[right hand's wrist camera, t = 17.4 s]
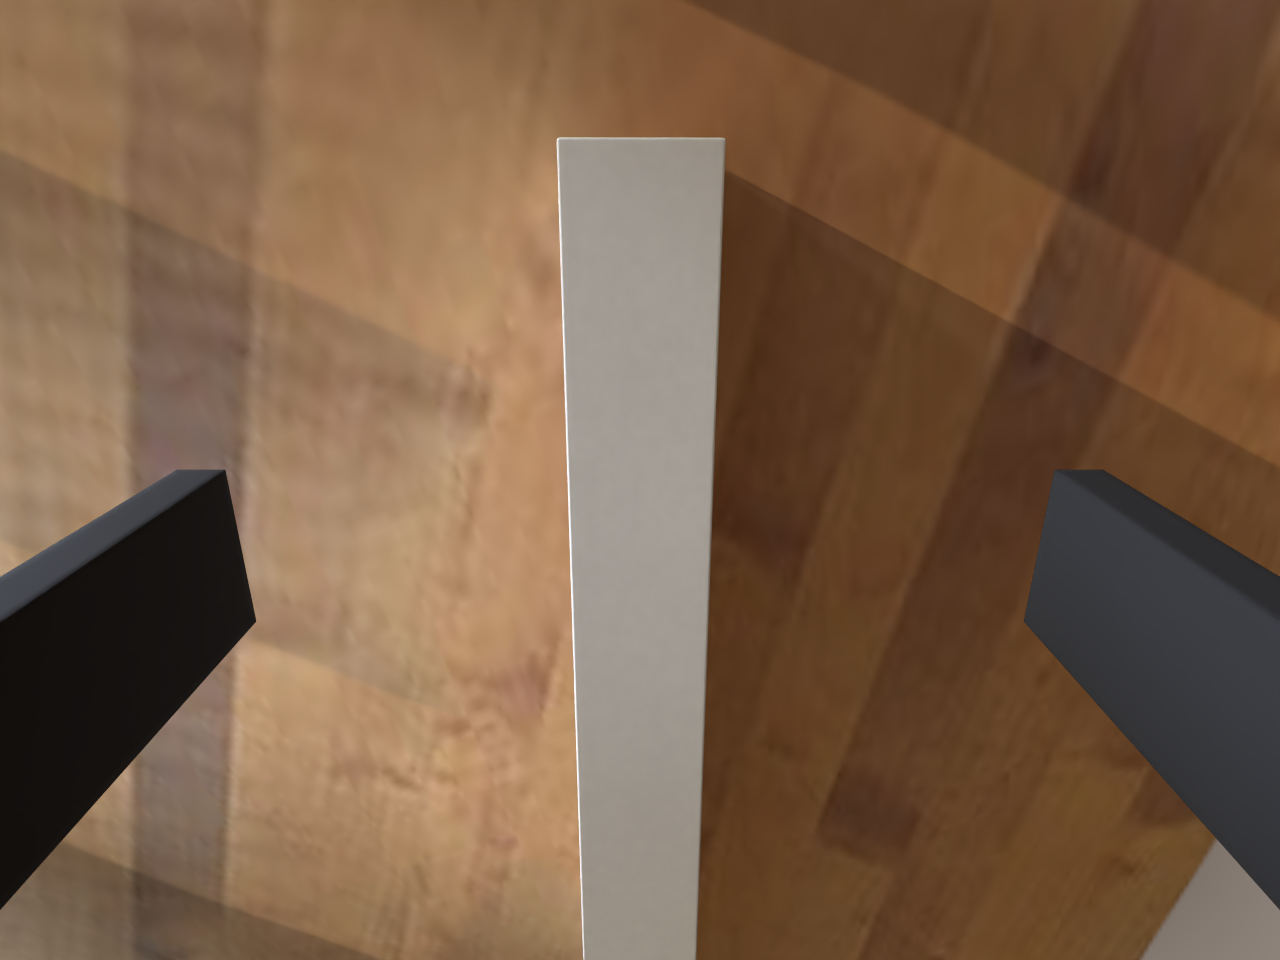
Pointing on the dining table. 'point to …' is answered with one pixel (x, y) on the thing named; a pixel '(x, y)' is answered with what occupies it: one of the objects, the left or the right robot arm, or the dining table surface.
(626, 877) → the post
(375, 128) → the dining table surface
